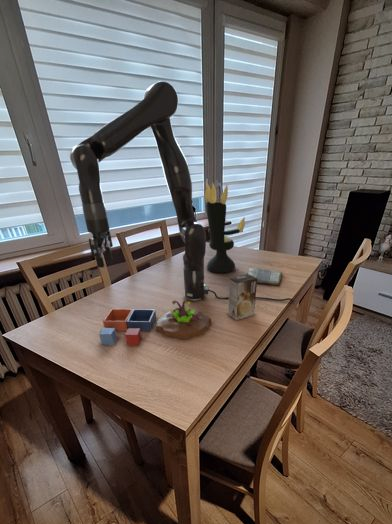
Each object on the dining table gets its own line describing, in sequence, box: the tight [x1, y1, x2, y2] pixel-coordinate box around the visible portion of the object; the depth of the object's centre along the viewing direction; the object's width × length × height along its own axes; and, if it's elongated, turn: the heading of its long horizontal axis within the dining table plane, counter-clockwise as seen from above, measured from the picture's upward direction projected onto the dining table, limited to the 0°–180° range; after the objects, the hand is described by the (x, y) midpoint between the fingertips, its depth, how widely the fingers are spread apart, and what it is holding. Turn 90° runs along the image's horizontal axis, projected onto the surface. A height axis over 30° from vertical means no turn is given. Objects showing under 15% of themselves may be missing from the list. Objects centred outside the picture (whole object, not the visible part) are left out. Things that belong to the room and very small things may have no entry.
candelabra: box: [204, 182, 246, 274], centre depth 149 cm, size 19×22×45 cm
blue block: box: [98, 327, 118, 346], centre depth 100 cm, size 4×4×4 cm
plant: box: [155, 299, 212, 340], centre depth 106 cm, size 20×20×11 cm
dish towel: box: [247, 267, 283, 286], centre depth 149 cm, size 19×18×3 cm
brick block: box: [124, 328, 143, 346], centre depth 99 cm, size 4×4×4 cm
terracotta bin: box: [102, 308, 134, 332], centre depth 110 cm, size 9×11×4 cm
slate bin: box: [127, 308, 157, 332], centre depth 110 cm, size 9×11×4 cm
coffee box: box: [227, 273, 258, 321], centre depth 111 cm, size 9×6×16 cm
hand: (105, 263), depth 104 cm, fingers open, 8 cm apart
